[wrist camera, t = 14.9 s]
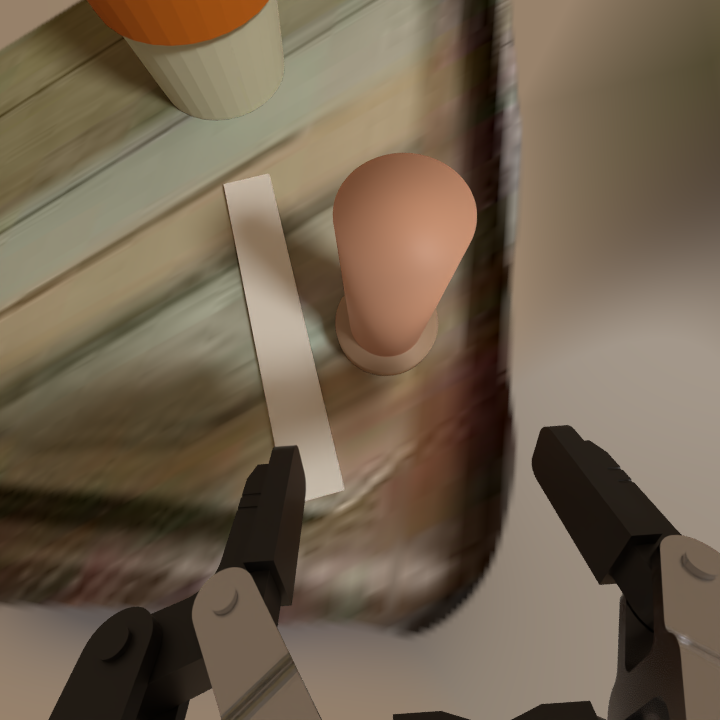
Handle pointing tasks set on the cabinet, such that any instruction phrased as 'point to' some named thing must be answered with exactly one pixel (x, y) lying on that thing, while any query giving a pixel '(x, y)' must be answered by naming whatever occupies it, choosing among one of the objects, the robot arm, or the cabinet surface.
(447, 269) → the pin
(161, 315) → the cabinet surface
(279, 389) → the strip
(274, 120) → the cabinet surface
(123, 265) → the cabinet surface
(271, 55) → the reusable coffee cup
